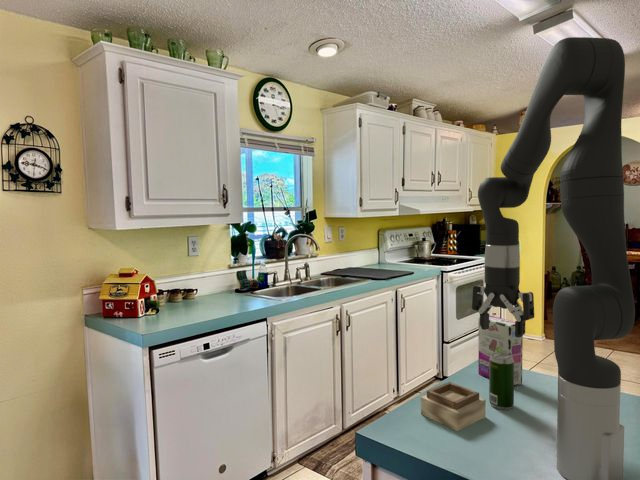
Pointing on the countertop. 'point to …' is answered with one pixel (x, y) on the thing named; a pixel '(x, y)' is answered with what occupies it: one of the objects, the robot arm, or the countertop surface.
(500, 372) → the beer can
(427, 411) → the pedestal
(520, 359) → the candy bar box
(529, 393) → the countertop surface
